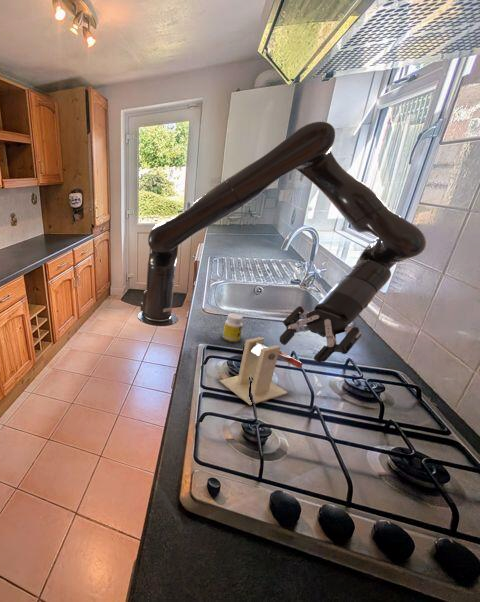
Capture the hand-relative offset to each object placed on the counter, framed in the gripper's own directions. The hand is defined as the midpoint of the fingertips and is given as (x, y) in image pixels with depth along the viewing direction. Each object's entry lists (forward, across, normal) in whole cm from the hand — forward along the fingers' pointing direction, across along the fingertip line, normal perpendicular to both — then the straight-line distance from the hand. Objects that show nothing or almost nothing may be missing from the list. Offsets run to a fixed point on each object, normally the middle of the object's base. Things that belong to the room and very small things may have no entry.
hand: (298, 351), depth 72 cm
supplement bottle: (+5, -20, +6) cm, 22 cm away
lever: (+6, 0, -6) cm, 8 cm away
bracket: (+14, 0, -3) cm, 15 cm away
